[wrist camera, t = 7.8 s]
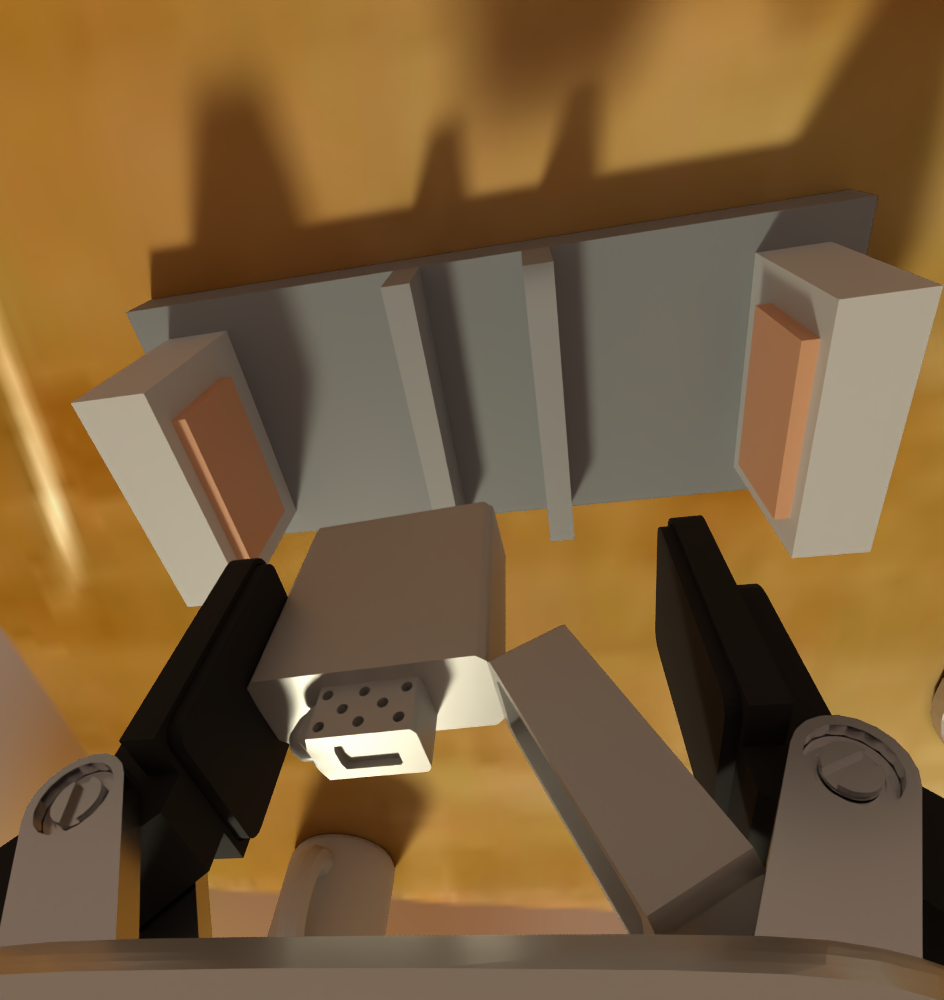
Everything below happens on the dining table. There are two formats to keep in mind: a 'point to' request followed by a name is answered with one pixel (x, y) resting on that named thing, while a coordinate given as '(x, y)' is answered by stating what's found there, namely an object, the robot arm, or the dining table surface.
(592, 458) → the grey holder rack
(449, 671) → the lighter
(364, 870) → the cup
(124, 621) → the dining table surface
